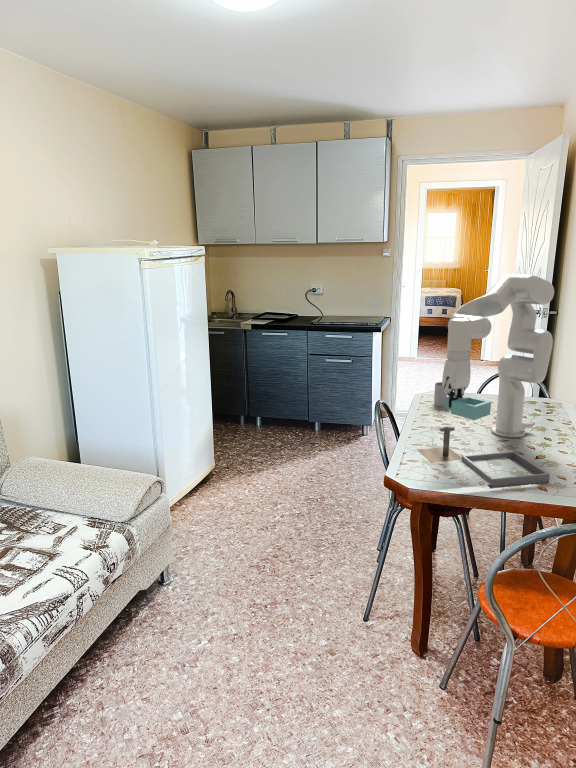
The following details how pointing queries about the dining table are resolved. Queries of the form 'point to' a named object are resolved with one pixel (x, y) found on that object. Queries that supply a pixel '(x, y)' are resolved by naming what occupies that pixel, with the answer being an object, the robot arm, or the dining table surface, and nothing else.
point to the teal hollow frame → (469, 407)
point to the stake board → (441, 449)
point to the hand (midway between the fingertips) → (455, 407)
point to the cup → (439, 395)
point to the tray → (536, 476)
